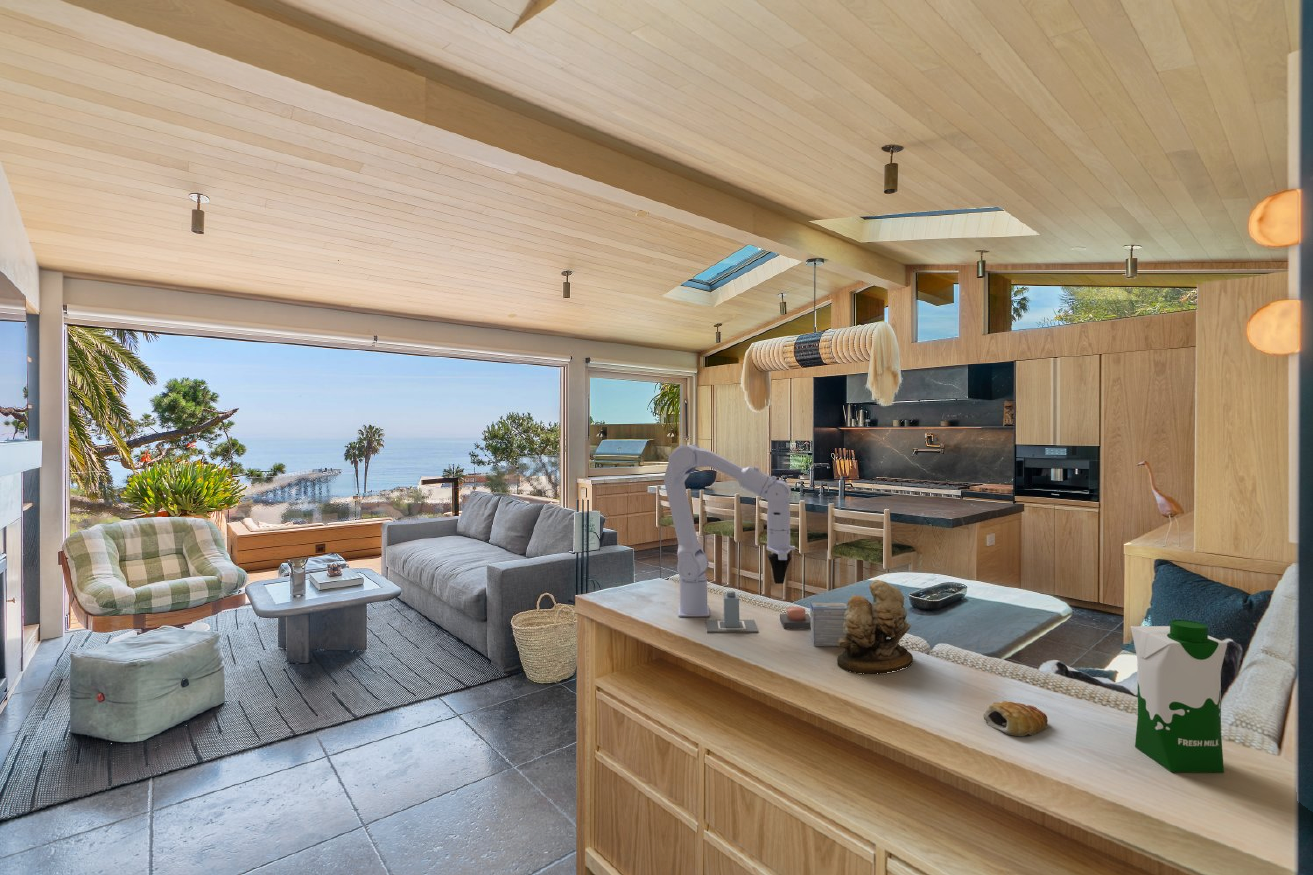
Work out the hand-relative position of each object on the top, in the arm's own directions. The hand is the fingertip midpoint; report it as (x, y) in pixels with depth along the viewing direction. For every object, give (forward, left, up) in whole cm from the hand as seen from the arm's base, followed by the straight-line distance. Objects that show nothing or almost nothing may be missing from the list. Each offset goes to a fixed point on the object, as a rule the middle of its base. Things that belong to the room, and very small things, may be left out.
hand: (779, 583), depth 159 cm
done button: (+4, +4, -8) cm, 9 cm away
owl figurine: (+29, +16, -10) cm, 34 cm away
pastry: (+57, +29, -10) cm, 65 cm away
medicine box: (+18, +9, -10) cm, 22 cm away
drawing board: (+6, -12, -9) cm, 17 cm away
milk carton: (+67, +47, -9) cm, 82 cm away
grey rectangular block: (+6, -12, -9) cm, 16 cm away
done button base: (+4, +4, -9) cm, 11 cm away
